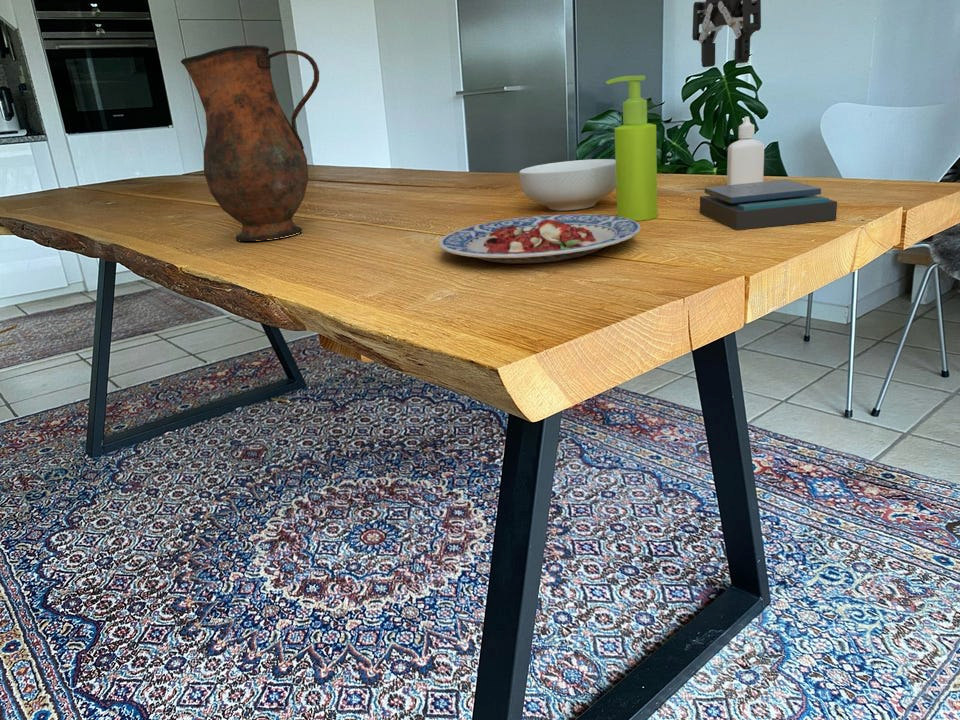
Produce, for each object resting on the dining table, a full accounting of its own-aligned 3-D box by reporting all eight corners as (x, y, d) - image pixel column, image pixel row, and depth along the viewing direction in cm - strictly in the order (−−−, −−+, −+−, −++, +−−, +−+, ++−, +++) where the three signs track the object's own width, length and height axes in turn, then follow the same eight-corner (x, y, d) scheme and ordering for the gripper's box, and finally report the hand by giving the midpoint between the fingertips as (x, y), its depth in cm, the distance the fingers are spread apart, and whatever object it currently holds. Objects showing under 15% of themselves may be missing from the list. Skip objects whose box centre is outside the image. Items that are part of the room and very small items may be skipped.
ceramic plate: (424, 246, 105) (422, 225, 104) (593, 222, 110) (592, 202, 109) (466, 285, 81) (463, 258, 80) (678, 252, 86) (678, 227, 85)
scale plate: (785, 184, 108) (786, 179, 107) (821, 194, 97) (821, 188, 97) (704, 193, 108) (704, 187, 107) (730, 203, 97) (731, 197, 97)
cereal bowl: (610, 195, 134) (608, 155, 131) (632, 208, 118) (631, 163, 116) (517, 205, 133) (514, 165, 131) (527, 219, 118) (524, 174, 115)
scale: (786, 204, 109) (787, 184, 108) (836, 220, 95) (837, 197, 94) (699, 212, 109) (699, 193, 108) (736, 230, 95) (736, 207, 94)
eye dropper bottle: (729, 189, 127) (731, 116, 123) (764, 188, 124) (766, 114, 120) (725, 193, 123) (726, 118, 119) (760, 192, 121) (763, 116, 117)
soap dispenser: (616, 214, 115) (612, 77, 108) (661, 213, 111) (660, 72, 105) (605, 221, 110) (600, 78, 103) (651, 220, 107) (649, 73, 100)
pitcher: (231, 233, 134) (193, 56, 124) (348, 221, 135) (320, 44, 125) (206, 251, 118) (161, 50, 108) (339, 237, 119) (307, 36, 109)
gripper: (777, -56, 111) (773, 59, 117) (717, -37, 124) (716, 66, 129) (735, -54, 109) (733, 63, 114) (679, -35, 122) (679, 69, 127)
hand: (724, 64), depth 122 cm, fingers open, 8 cm apart
